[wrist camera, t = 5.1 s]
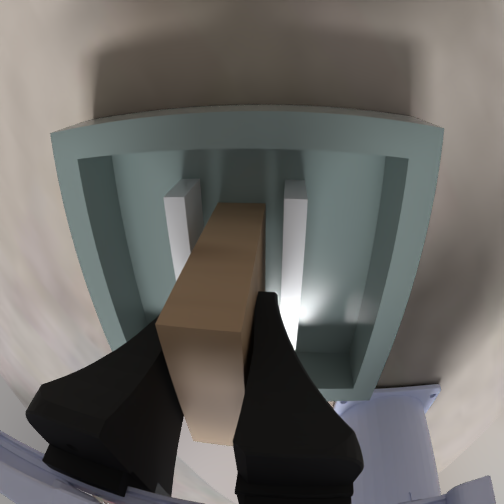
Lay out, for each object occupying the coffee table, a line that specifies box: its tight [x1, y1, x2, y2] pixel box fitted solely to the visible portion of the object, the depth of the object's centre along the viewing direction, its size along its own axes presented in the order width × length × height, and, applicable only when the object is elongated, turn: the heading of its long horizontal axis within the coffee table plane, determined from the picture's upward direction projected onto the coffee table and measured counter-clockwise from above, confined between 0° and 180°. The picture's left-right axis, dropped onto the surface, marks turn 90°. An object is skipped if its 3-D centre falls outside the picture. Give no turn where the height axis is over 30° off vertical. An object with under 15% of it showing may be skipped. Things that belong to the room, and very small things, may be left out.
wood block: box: [155, 203, 266, 446], centre depth 12 cm, size 6×2×8 cm, turn 1°
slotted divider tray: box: [50, 104, 444, 401], centre depth 14 cm, size 14×14×3 cm
